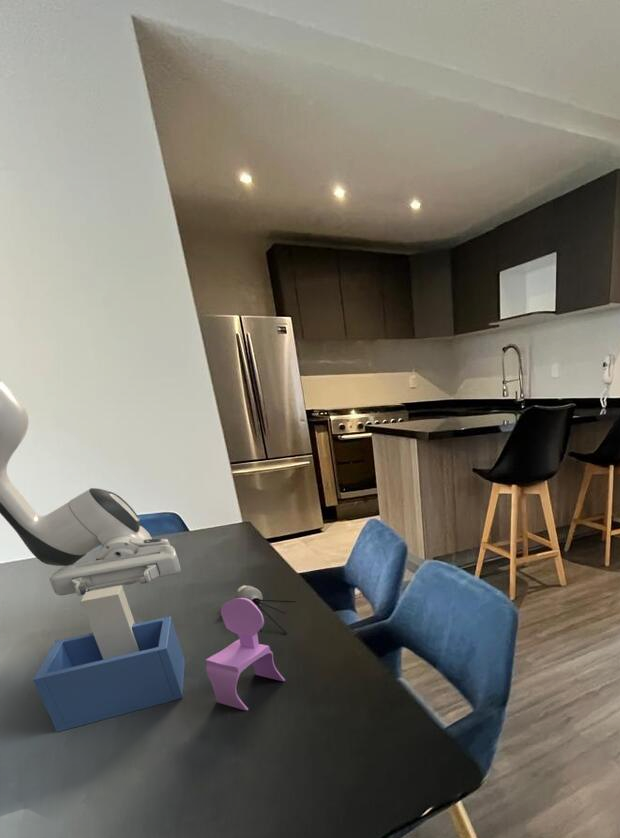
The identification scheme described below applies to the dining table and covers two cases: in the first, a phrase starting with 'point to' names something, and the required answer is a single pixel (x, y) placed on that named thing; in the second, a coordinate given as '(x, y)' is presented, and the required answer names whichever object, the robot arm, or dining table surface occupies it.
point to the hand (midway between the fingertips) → (113, 584)
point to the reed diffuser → (256, 599)
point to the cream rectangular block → (110, 621)
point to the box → (110, 676)
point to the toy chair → (240, 652)
